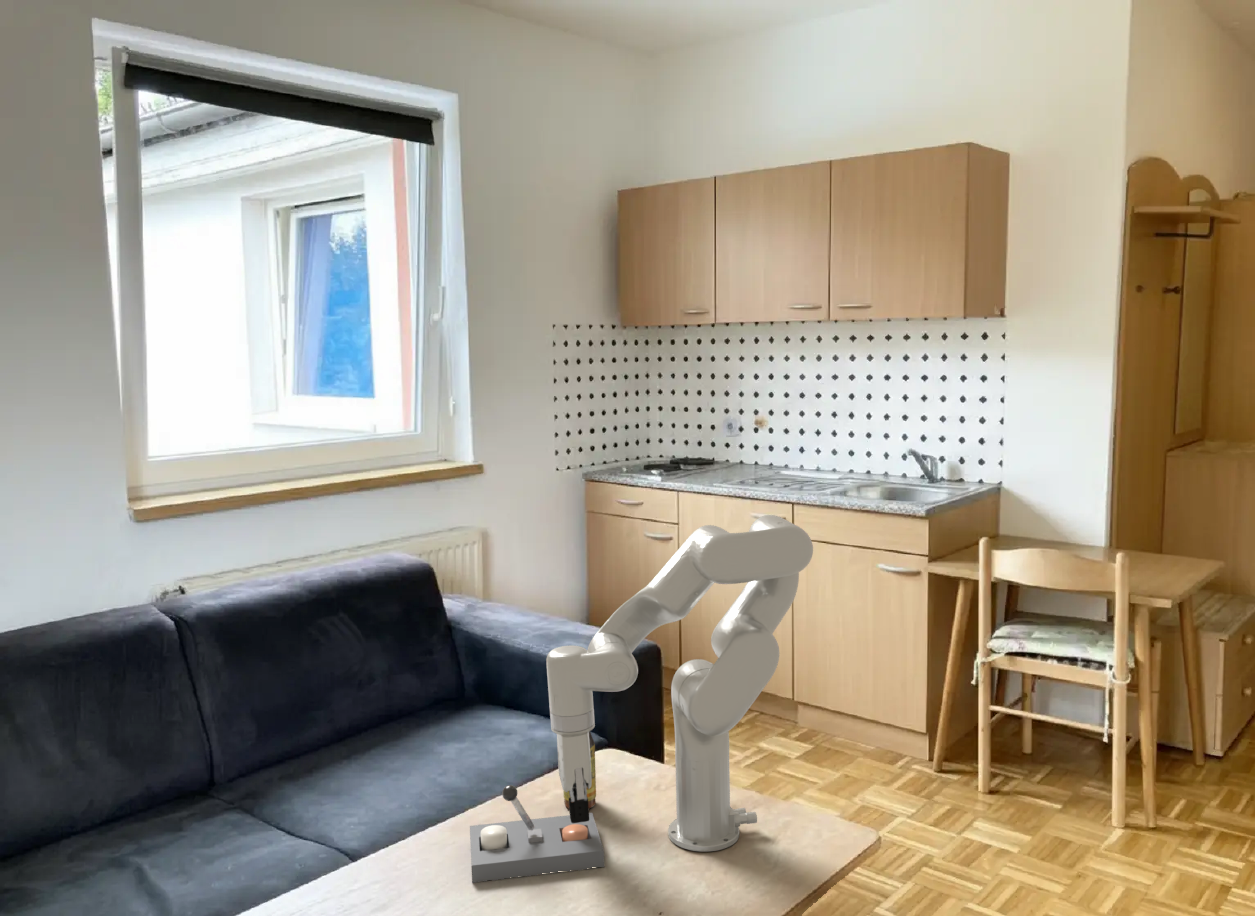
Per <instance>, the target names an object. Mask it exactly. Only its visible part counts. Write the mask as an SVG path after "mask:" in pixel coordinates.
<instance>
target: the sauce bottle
mask: <svg viewBox="0 0 1255 916" xmlns="http://www.w3.org/2000/svg"><path fill="white" fill-rule="evenodd" d="M589 743H590V757H591V779H592V786H591V787H590V789H588V788H587V787H586V788H587V798H588V806H589V809H591V808H593V807H594V806H595V805H596V797H597V785H596V783H597V779H596V773H597V772H596V744H595V740H594V737H593V736H592V733H591V730H590V731H589ZM562 791H563V800H564V802H563V803H564V806H565V807H566V808H567V809H568V810H569V798H570V795H569V791H568V792H565V791H564V790H563V789H562Z"/></svg>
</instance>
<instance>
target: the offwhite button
mask: <svg viewBox="0 0 1255 916" xmlns="http://www.w3.org/2000/svg"><path fill="white" fill-rule="evenodd" d="M503 848H507V830H506V828H505V827H503V826H500V825H492V826H488V827H485V828H483V829H482V830H481V851H485V850H494V849H503Z"/></svg>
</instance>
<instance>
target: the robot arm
mask: <svg viewBox="0 0 1255 916" xmlns="http://www.w3.org/2000/svg"><path fill="white" fill-rule="evenodd" d="M813 554H814V546H813V541H812V539H811V537H810V535H809V534H808V533H807V531H805V529H803V528H802V527H800V526H798V525H797V524H795V523H793V522H791V521H789V520H787V519H786V518H783V517H781V516H778V515H775V514H767V515H762V516H760V517H758V518H757V519H755V521H753V522H752V524H751V526H750V528H749V529H748V531H743V532H729V531H727V530H726V529H724V528H722V527H719V526H717V525H714V524H713V525H711V524H707V525H702V526H699V527H698V528H697V529H695V530H694V531H693V532H692V533H691V534H690V535H689V536H688V537H687V538H686V540H685V541H683V543H682V544H681V546H680V547H679V548H678V549H677V550H676V551H675V552H674V554H673V555H672V556H671V557H670V558H669V559H668V561H667V562H666V563H665V564H664V565H663V567H661V569H660V570H659V572H658V573H656V575H655V576H654V578H652V580H651V581H649V583H648V584H647V585H645V586H644V587H643V588H642V589H640V590H639V591H637V593H635V594H634V595H633V596H632V597H630V598H629V599H627V600H626V601H624V603H622V605H621V604H620V606H619V607H618V608H617V609H616V610H615V611H614V612H613V613H612V614H611V615H610V617H609V618H608V619H606V621H605V622H604V624H603V625H601V627H600V628H599V629H598V631H597V632H596V633H595V634H594V636H593V637H592V639H591V640H590V642H589V644H588V647H587V649H586V648H585V647H583V646H580V645H563V646H562V645H561V646H559V647H555V648H553V649H551V650H550V651H549V652H547V655H546V658H545V660H546V676H547V677H546V678H547V687H548V688H547V691H548V703H549V716H550V717H549V718H550V728H551V729H550V730H551V732H552V733H554V734H556V745H557V746H556V748H557V762H558V763H557V767H558V768H557V769H558V776H559V780H560V783H561V788H562V791H563V790H564V791H565V792H568V791H569V795H570V798H569V809H568V810H569V815H570V819H571V823H579V822H586V821H589V813H590V808H589V806H588V798H587V788H588V789H590V787H591V786H592V779H591V757H590V743H589V731H590V732H591V731H593V729H594V728H595V726H596V725H595V724H596V723H595V709H594V696H593V694H594V693H593V692H611V693H613V692H617V693H618V692H621V691H625V690H627V689H629V688H630V687H631V686H632V685H634V683H635V682H636V680H637V678H638V674H639V666H638V663H637V660H636V658H635V657H634V655H633V654H632V653H633V652H634V651H635V650H636V648H637V647H638V646H639V645H640V644H641V643H642V642H643V641H644V640H645V638H646V637H648V635H650V633H652V632H653V631H655V630H656V629H657V628H659V627H661V626H663V625H666V624H671V623H676V622H677V621H681V620H683V619H684V618H686V617H687V616H688V615H689V614H690V613H691V611H692V610H693V608H695V606H696V605H698V603H699V602H700V600H702V598H703V597H704V596H705V595H706V593H707V592H708V591H709V590H710V589H711V587H713V585H714V584H718V585H735V584H744V583H745V585H744V587H743V589H742V590H741V591H740V594H739V595H738V596H737V598H736V599H735V600H734V601H733V603H732V604H731V605H730V607H728V610H727V611H726V613H725V614H724V615H723V616H722V618H721V619H720V620H719V621H718V623H717V624H716V626H715V627H714V629H713V632H712V633H711V638H710V643H711V648H712V650H713V652H714V653H715V656H716V657H717V659H716V661H715V662H714V663H713V662H710V661H708V660H706V659H701V658H699V659H697V658H695V659H691V660H688V661H686V662H684V663H683V664H681V665H680V666H679V667H678V668H677V670H676V671H675V674H673V677H672V680H671V688H670V689H671V691H670V694H671V695H670V696H671V705H672V712H673V714H672V716H673V724H674V725H673V726H674V743H675V745H674V746H675V747H674V749H675V751H674V756H675V758H674V759H675V794H676V796H675V799H676V800H675V801H676V819H674V820H673V821H671V823H670V824H669V825H668V829H667V831H668V833H667V834H668V838H669V839H670V841H671V842H672V843H673V844H675V845H676V846H677V847H680V848H681V849H685V850H688V851H692V852H701V853H702V852H705V853H707V852H716V851H721V850H725V849H727V848H729V847H731V846H733V845H734V844H735V843H737V841H738V840H739V838H740V827H741V825H745V824H747V825H751V824H757V823H758V815H757V812H756V811H749V812H747V810H746V809H747V808H746V807H739V808H733V807H731V790H730V789H731V784H730V783H731V782H730V781H731V779H730V772H731V771H730V734H729V733H730V731H731V730H732V729H733V728H734V727H735V726H736V725H737V724H738V723H739V722H740V721H741V720H742V719H743V717H744V716H745V715H746V713H747V712H748V711H749V709H750V708H751V706H752V705H753V704H754V703H755V701H756V700H757V699H758V697H759V695H761V693H762V691H764V689H765V687H766V686H767V685H768V683H769V682H770V680H771V679H772V677H773V676H774V674H775V672H776V670H777V668H778V664H779V661H780V647H779V643H778V640H777V639H776V637H775V635H774V632H775V631H776V629H777V628H778V626H779V625H780V623H781V622H782V620H783V618H784V617H785V615H786V614H787V613H788V611H789V609H790V608H791V606H792V605H793V602H794V600H795V598H796V594H797V592H798V587H799V581H800V579H799V578H800V572H801V571H803V570H804V569H806V568H807V567H808V565H809V564H810V563H811V560H812V557H813ZM586 787H587V788H586Z"/></svg>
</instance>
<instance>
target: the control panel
mask: <svg viewBox="0 0 1255 916" xmlns="http://www.w3.org/2000/svg"><path fill="white" fill-rule="evenodd" d="M530 819H531V821H532V822H533V824H534V826H535V828H534V830H532V831H531V830H529V829H528V828H527V826H526V825H525V823H524V821H523V820H522V819H521V820H514V821H513V820H512V821H504V822H493V823H484V824H475V825H469V836H470V841H469V842H470V858H471V859H470V862H471V863H470V864H471V884H474V883H481V882H480V881H484V882H488V881H487V880H492V881H499V880H498V879H501V880H505V879H504V878H510V877H518V876H527V877H532V876H531V875H535V876H538V875H537V874H542V873H550V872H558V871H569V872H571V871H570V870H578V871H583V870H582V869H587V868H592V867H604V868H605V850H604V847H603V843H602V839H601V837H600V834H599V830H598V826H597V823H596V820H595V816H594V814H593V812H589V821H586V822H579V823H571V819H570V814H568V815H559V816H549V817H541V818H530ZM573 824H580V825H584V826H586V827H587V829H588V839H584V840H575V841H566V842H563V836H562V830H563V828H564V827H566V826H568V825H573ZM492 825H500V826H503V827H505V828H506V830H507V848H503V849H494V850H485V851H481V830H482V829H483V828H485V827H488V826H492ZM587 870H588V869H587ZM518 878H519V877H518ZM510 879H511V878H510Z"/></svg>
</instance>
